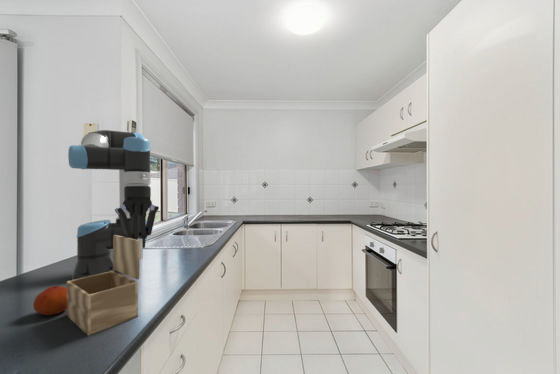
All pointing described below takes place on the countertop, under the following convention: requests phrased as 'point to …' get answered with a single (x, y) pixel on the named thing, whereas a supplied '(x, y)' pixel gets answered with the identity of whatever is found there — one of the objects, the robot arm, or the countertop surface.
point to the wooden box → (101, 301)
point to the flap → (126, 256)
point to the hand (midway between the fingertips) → (138, 258)
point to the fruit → (51, 301)
